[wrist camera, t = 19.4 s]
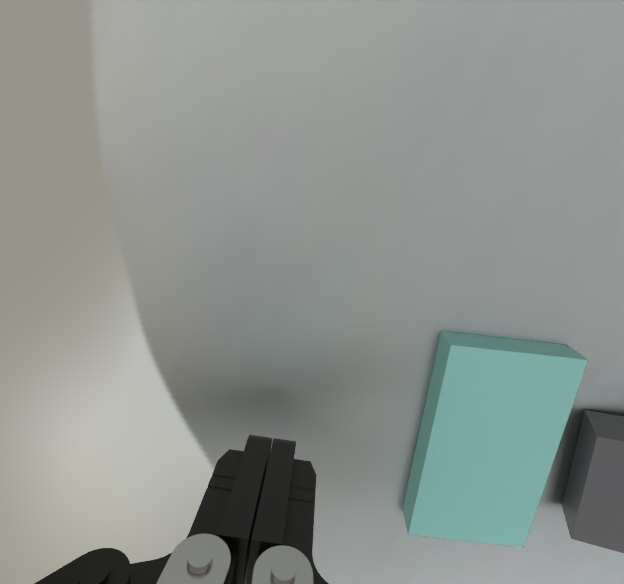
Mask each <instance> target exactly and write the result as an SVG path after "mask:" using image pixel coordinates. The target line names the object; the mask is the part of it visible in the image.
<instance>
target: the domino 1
mask: <svg viewBox="0 0 624 584" xmlns="http://www.w3.org/2000/svg"><path fill="white" fill-rule="evenodd" d="M587 362H588V360H587V359H586V358H585V357H583V356H582V355H580V354H579V353H578V352H576V351H575V350H573V349H572V348H571V347H569V346H568V345H564V344H555V343H546V342H537V341H528V340H518V339H509V338H500V337H491V336H482V335H473V334H464V333H455V332H446V331H441V333H440V337H439V342H438V347H437V351H436V356H435V361H434V365H433V370H432V374H431V379H430V384H429V388H428V393H427V397H426V402H425V407H424V411H423V416H422V420H421V425H420V430H419V434H418V439H417V444H416V448H415V453H414V457H413V462H412V467H411V471H410V476H409V480H408V485H407V490H406V494H405V499H404V503H403V508H402V509H403V513H404V518H405V522H406V527H407V531H408V535H416V536H425V537H434V538H442V539H451V540H460V541H469V542H478V543H487V544H496V545H504V546H513V547H522V548H524V545H525V542H526V539H527V537H528V534H529V531H530V528H531V525H532V522H533V519H534V516H535V513H536V510H537V508H538V505H539V502H540V499H541V496H542V493H543V490H544V487H545V484H546V481H547V478H548V476H549V473H550V470H551V467H552V464H553V461H554V458H555V455H556V452H557V449H558V446H559V444H560V441H561V438H562V435H563V432H564V429H565V426H566V423H567V420H568V417H569V414H570V412H571V409H572V406H573V403H574V400H575V397H576V394H577V391H578V388H579V385H580V382H581V380H582V377H583V374H584V371H585V368H586V365H587Z"/></svg>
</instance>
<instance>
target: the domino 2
mask: <svg viewBox="0 0 624 584" xmlns="http://www.w3.org/2000/svg"><path fill="white" fill-rule="evenodd" d="M562 507H563V511H564V514H565V518H566V522H567V525H568V529H569V533H570V536H571V539H575V540H579V541H582V542H586V543H589V544H593V545H597V546H600V547H604V548H608V549H611V550H615V551H619V552H622V553H624V417H623V416H617V415H612V414H606V413H600V412H595V411H589V410H584V413H583V418H582V422H581V426H580V430H579V434H578V439H577V443H576V447H575V451H574V455H573V460H572V464H571V468H570V472H569V476H568V481H567V485H566V489H565V493H564V498H563V502H562Z"/></svg>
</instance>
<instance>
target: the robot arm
mask: <svg viewBox="0 0 624 584" xmlns="http://www.w3.org/2000/svg"><path fill="white" fill-rule="evenodd" d="M271 444H272V438H268V437H261V436H254V435H249V437H248V440H247V443H246V446H245V450H244V452H243V451H237V450H230V449H229V450H228V451H227V452H226V453H225V454H224V455H223V456H222V457H221V458H220V459H219V460H218V462H217V464H216V467H215V469H214V472H213V475H212V477H211V479H210V482H209V485H208V488H207V490H206V492H205V495H204V497H203V500H202V502H201V505H200V507H199V510H198V512H197V515H196V517H195V520H194V522H193V525H192V527H191V530H190V533H189V534H188V536H187V538H186V539H185V540H183V541H182V542H181V543H180V544H179V545H178V546H177V547H176V548H175V549H174V551H173V552H172V553H170V554H168V555H167V556H165V557H162V558H159V559H156V560H151V561H145V562H139V563H134V564H130V563H129V560H128V558H127V557H126V555H125V554H124V553H122V552H121V551H119V550H117V549H112V548H102V549H97V550H93V551H91V552H88V553H86V554H84V555H82V556H81V557H79V558H77V559H75V560H74V561H72V562H70V563H69V564H67V565H65V566H63V567H62V568H60V569H58V570H57V571H55V572H53V573H52V574H50V575H48V576H47V577H45V578H43V579H42V580H40V581H38V582H37V583H35V584H328V583H327V582H326V581H325V580H324V579H323V578H322V577H321V576H320V574H319V573H318V571H317V569H316V567H315V565H314V562H313V557H312V543H313V525H314V506H315V505H314V503H315V487H316V474H315V471H314V469H313V467H312V464H311V462H310V461H304V460H297V459H294V453H295V446H296V442H295V441H288V440H282V439H275V438H274V439H273V444H272V448H271ZM270 452H271V453H270Z"/></svg>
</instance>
